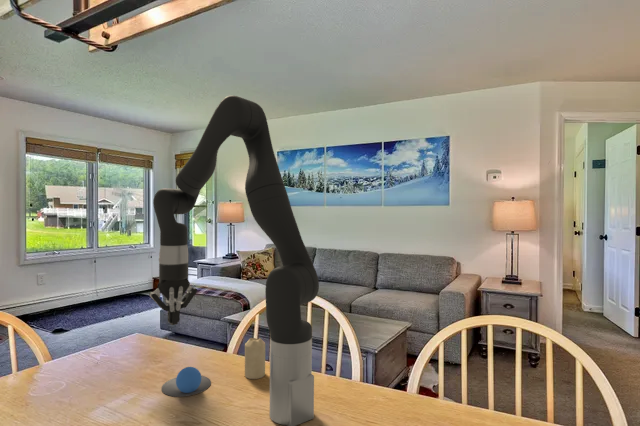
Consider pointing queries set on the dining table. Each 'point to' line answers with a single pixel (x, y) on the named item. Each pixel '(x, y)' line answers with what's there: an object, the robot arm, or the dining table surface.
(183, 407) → the dining table surface
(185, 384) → the ball
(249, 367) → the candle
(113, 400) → the dining table surface
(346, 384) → the dining table surface
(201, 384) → the disc
